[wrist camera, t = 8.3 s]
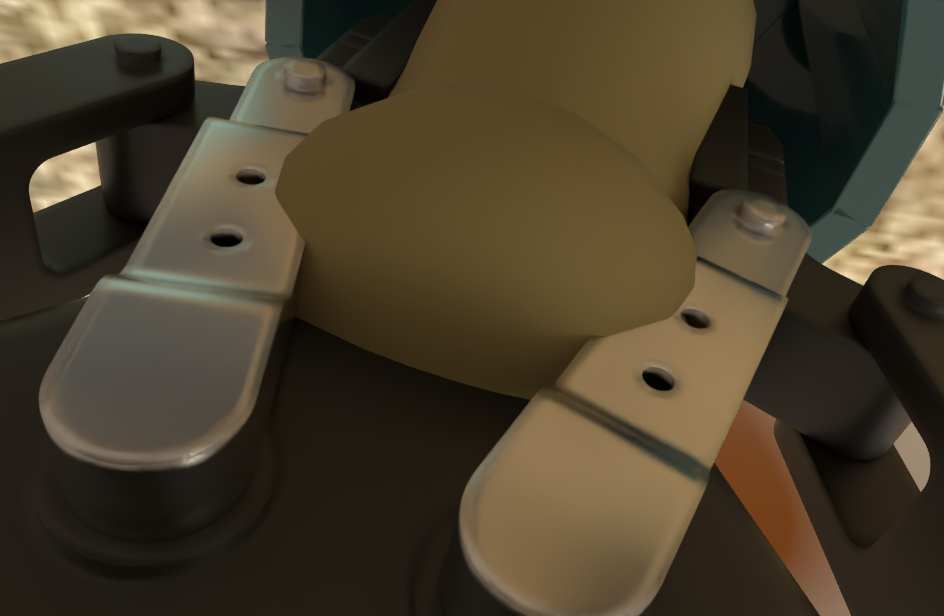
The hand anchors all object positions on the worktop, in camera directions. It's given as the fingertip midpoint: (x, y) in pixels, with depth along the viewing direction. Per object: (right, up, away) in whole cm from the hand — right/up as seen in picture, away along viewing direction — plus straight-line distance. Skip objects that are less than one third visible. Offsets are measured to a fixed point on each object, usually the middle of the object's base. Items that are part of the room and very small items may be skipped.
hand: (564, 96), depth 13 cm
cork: (+1, +2, +2) cm, 3 cm away
